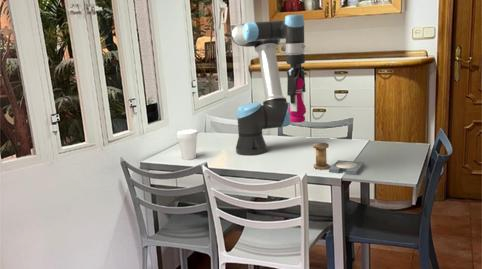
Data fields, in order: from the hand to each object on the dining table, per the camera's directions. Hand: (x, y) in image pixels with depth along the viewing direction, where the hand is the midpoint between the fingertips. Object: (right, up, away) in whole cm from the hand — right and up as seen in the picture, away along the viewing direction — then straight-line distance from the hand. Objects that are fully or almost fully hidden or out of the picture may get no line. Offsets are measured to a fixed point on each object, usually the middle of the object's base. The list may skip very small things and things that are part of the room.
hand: (297, 109), depth 194 cm
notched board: (+20, -25, -3) cm, 32 cm away
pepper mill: (0, -5, +1) cm, 5 cm away
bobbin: (+10, -24, +1) cm, 27 cm away
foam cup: (-48, -22, +29) cm, 61 cm away
